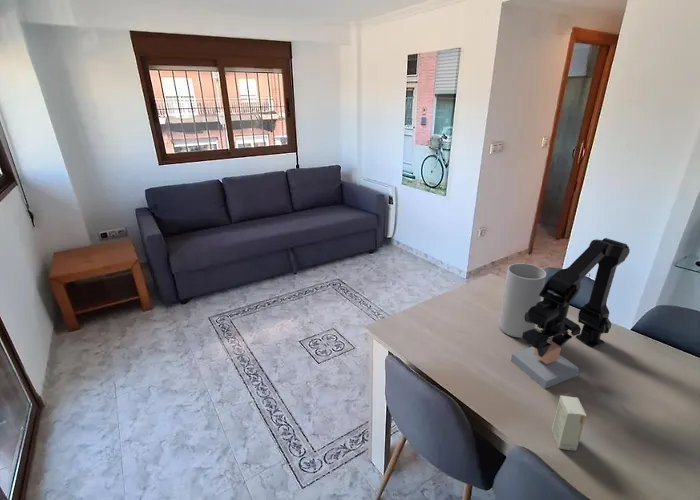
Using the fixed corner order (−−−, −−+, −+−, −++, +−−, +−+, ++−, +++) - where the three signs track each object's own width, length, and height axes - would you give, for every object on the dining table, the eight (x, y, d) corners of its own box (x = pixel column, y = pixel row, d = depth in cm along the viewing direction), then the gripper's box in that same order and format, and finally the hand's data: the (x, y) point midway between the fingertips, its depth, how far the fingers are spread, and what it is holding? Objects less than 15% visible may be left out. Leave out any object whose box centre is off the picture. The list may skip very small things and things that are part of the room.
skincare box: (576, 451, 93) (587, 417, 88) (558, 449, 94) (568, 414, 89) (568, 430, 99) (578, 396, 94) (550, 428, 100) (560, 394, 95)
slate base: (541, 349, 129) (543, 342, 128) (577, 375, 117) (579, 368, 116) (510, 360, 125) (511, 353, 123) (544, 388, 113) (546, 381, 112)
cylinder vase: (539, 338, 135) (553, 279, 125) (505, 339, 135) (515, 279, 125) (525, 319, 146) (536, 263, 136) (493, 319, 147) (502, 263, 137)
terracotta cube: (545, 350, 122) (548, 338, 120) (558, 359, 118) (561, 347, 116) (533, 354, 120) (536, 342, 118) (546, 364, 116) (549, 351, 114)
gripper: (556, 294, 122) (547, 332, 129) (512, 307, 116) (505, 346, 123) (587, 311, 113) (575, 351, 119) (541, 326, 107) (532, 368, 113)
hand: (546, 353), depth 119 cm, fingers closed on terracotta cube, 5 cm apart
